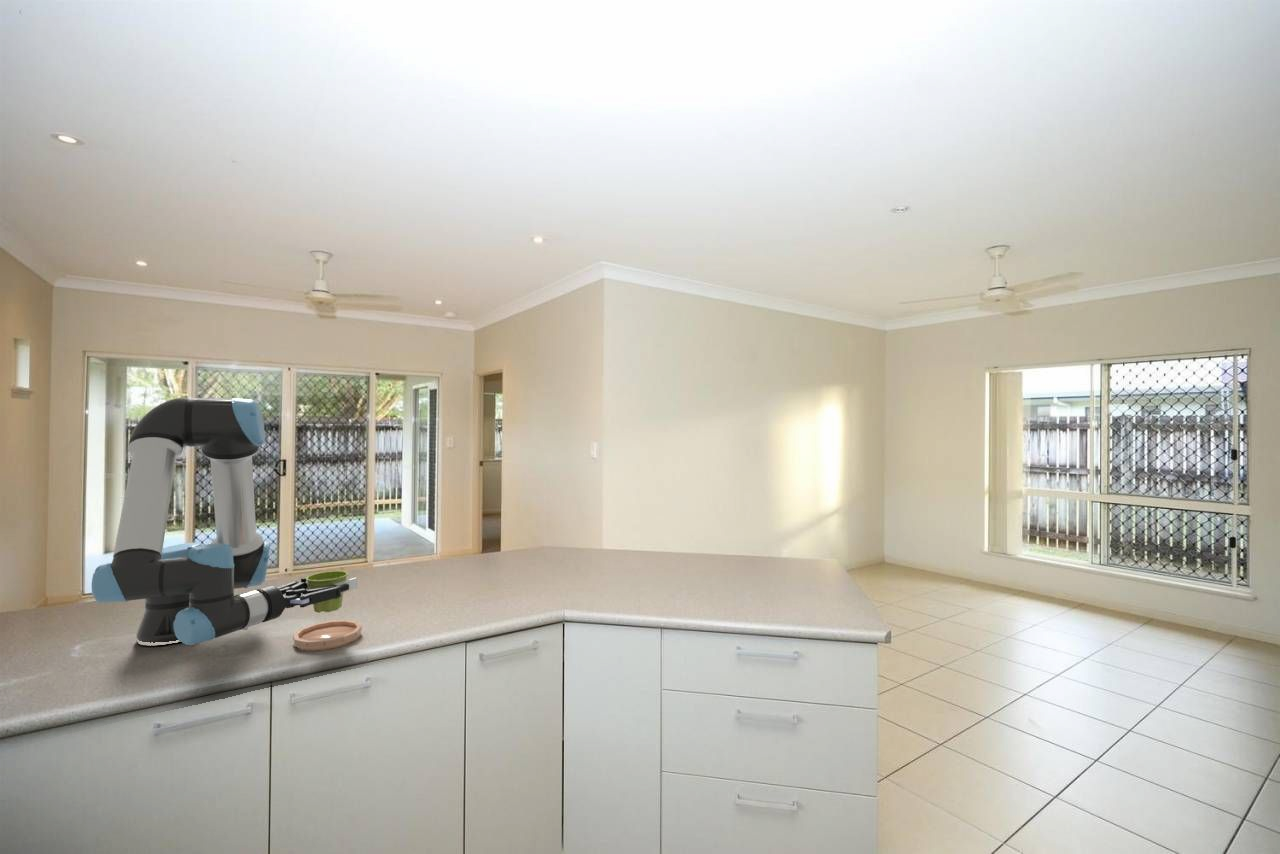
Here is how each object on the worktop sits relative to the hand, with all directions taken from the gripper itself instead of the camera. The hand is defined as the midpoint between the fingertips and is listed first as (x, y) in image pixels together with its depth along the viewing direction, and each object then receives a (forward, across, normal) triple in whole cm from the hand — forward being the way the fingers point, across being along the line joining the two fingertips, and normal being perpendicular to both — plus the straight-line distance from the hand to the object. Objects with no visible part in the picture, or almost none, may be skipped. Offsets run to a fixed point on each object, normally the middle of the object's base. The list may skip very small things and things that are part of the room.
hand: (343, 581), depth 151 cm
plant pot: (-5, 0, -6) cm, 8 cm away
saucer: (-4, 0, -14) cm, 14 cm away
